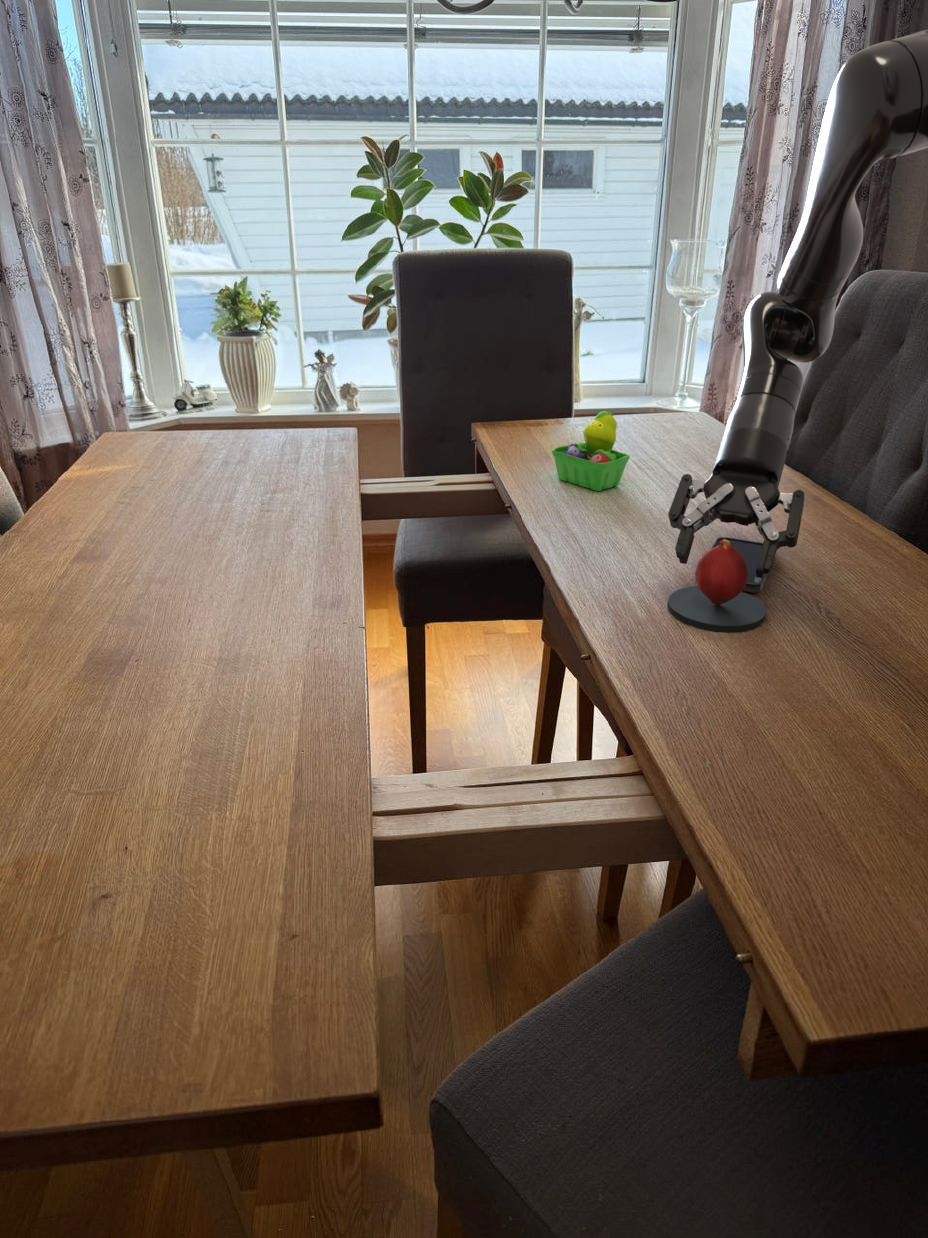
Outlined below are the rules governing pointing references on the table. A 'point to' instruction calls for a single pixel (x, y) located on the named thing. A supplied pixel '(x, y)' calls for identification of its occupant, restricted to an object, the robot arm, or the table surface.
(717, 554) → the onion
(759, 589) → the phone
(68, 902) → the table surface
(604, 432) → the fruit basket
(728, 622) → the dark grey flat disc
